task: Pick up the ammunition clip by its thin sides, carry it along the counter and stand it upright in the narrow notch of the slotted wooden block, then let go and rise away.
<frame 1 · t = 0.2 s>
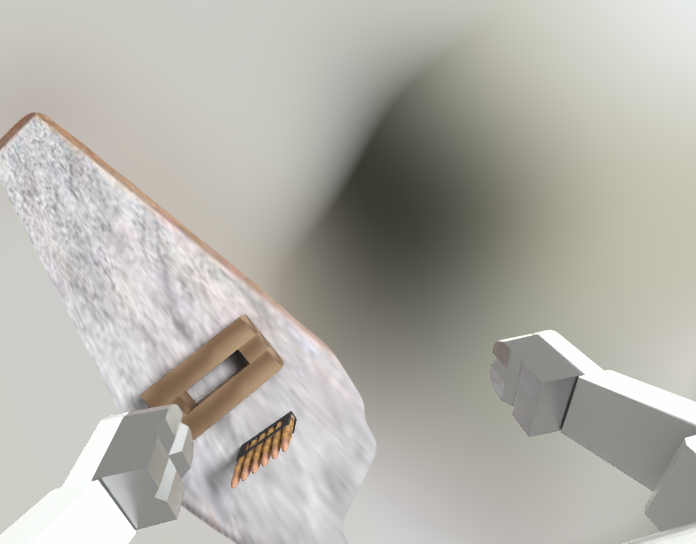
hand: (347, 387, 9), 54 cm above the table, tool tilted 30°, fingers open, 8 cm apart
ammunition clip: (269, 431, 61), on the table
slotted wooden block: (220, 373, 60), on the table
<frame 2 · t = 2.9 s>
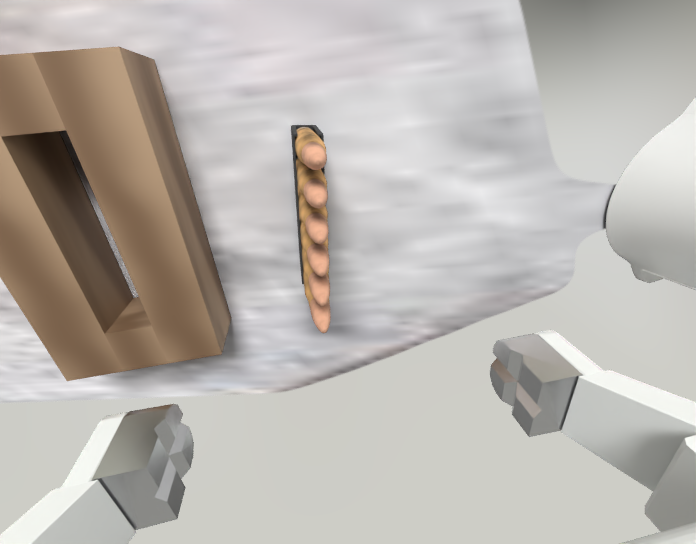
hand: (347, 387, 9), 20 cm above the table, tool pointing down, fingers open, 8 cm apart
ammunition clip: (307, 197, 27), on the table
slotted wooden block: (122, 221, 25), on the table
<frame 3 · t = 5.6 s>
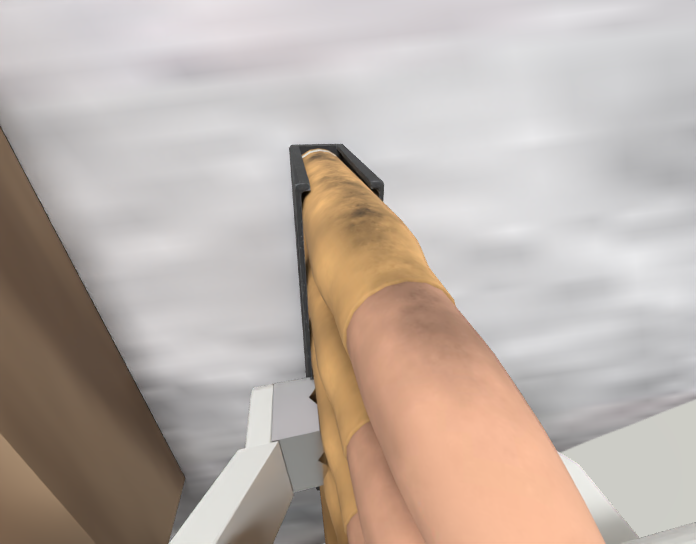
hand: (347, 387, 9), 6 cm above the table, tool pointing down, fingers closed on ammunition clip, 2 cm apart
ammunition clip: (321, 282, 14), on the table, touching gripper
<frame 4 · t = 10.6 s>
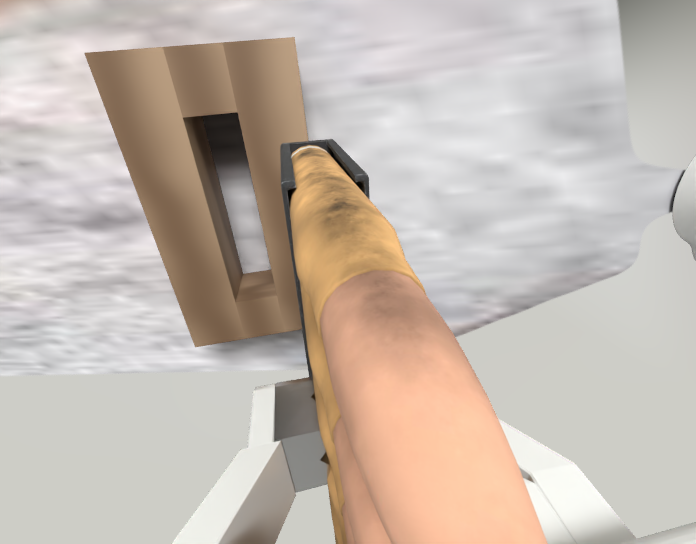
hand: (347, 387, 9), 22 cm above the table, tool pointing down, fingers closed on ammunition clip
ammunition clip: (321, 277, 14), point 16 cm above the table, touching gripper
slotted wooden block: (244, 201, 27), on the table
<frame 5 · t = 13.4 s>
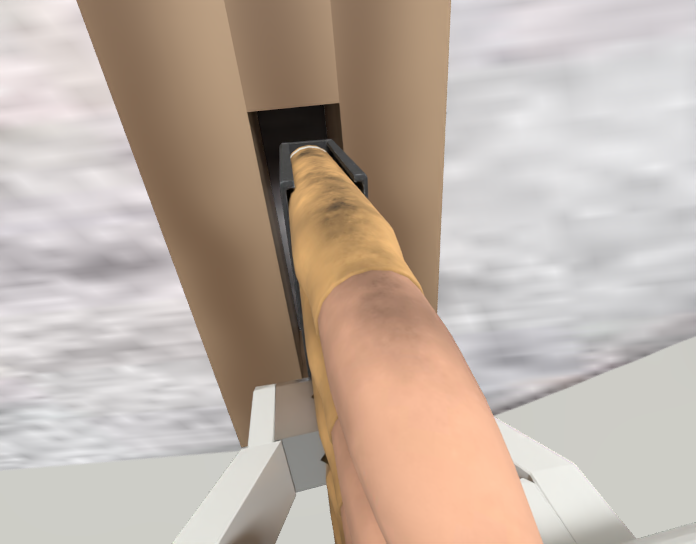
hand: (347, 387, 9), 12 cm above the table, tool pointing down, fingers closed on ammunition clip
ammunition clip: (321, 277, 14), point 6 cm above the table, touching gripper
slotted wooden block: (309, 233, 19), on the table
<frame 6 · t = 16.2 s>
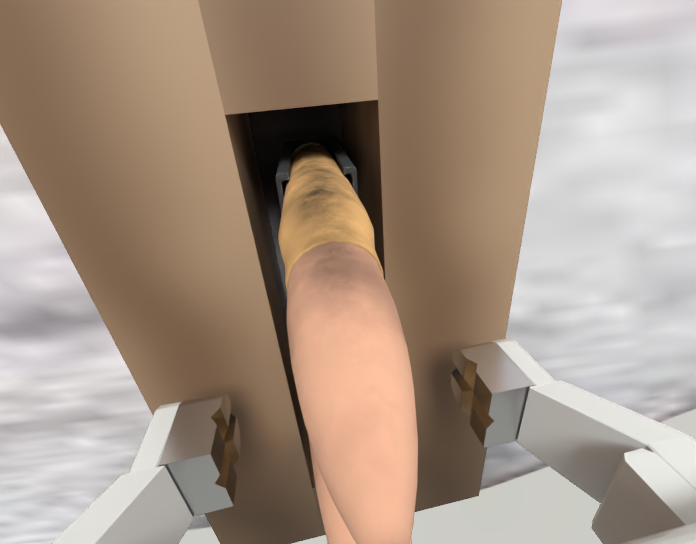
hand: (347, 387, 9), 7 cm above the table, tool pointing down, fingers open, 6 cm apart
ammunition clip: (324, 268, 14), resting in slotted wooden block
slotted wooden block: (319, 274, 14), on the table
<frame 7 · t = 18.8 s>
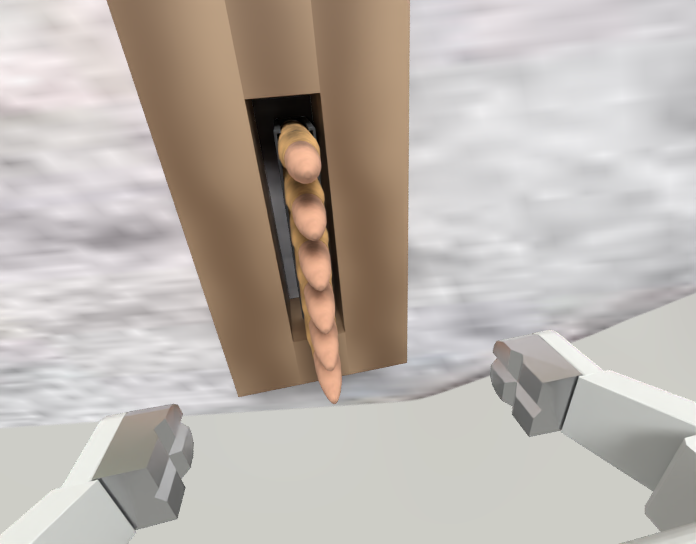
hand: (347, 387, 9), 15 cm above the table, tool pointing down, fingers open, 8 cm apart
ammunition clip: (302, 207, 22), resting in slotted wooden block
slotted wooden block: (298, 210, 21), on the table
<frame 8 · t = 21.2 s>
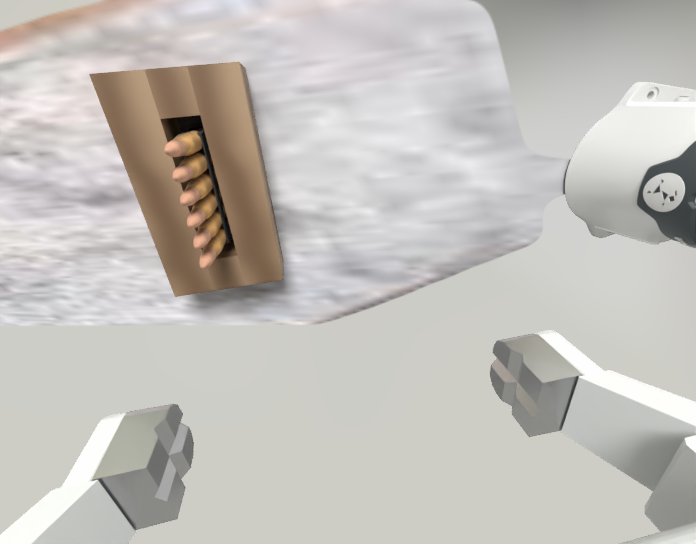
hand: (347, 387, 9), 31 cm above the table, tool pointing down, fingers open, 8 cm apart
ammunition clip: (215, 181, 35), resting in slotted wooden block
slotted wooden block: (212, 183, 35), on the table
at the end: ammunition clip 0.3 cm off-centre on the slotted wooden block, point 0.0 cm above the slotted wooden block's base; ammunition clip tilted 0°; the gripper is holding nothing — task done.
